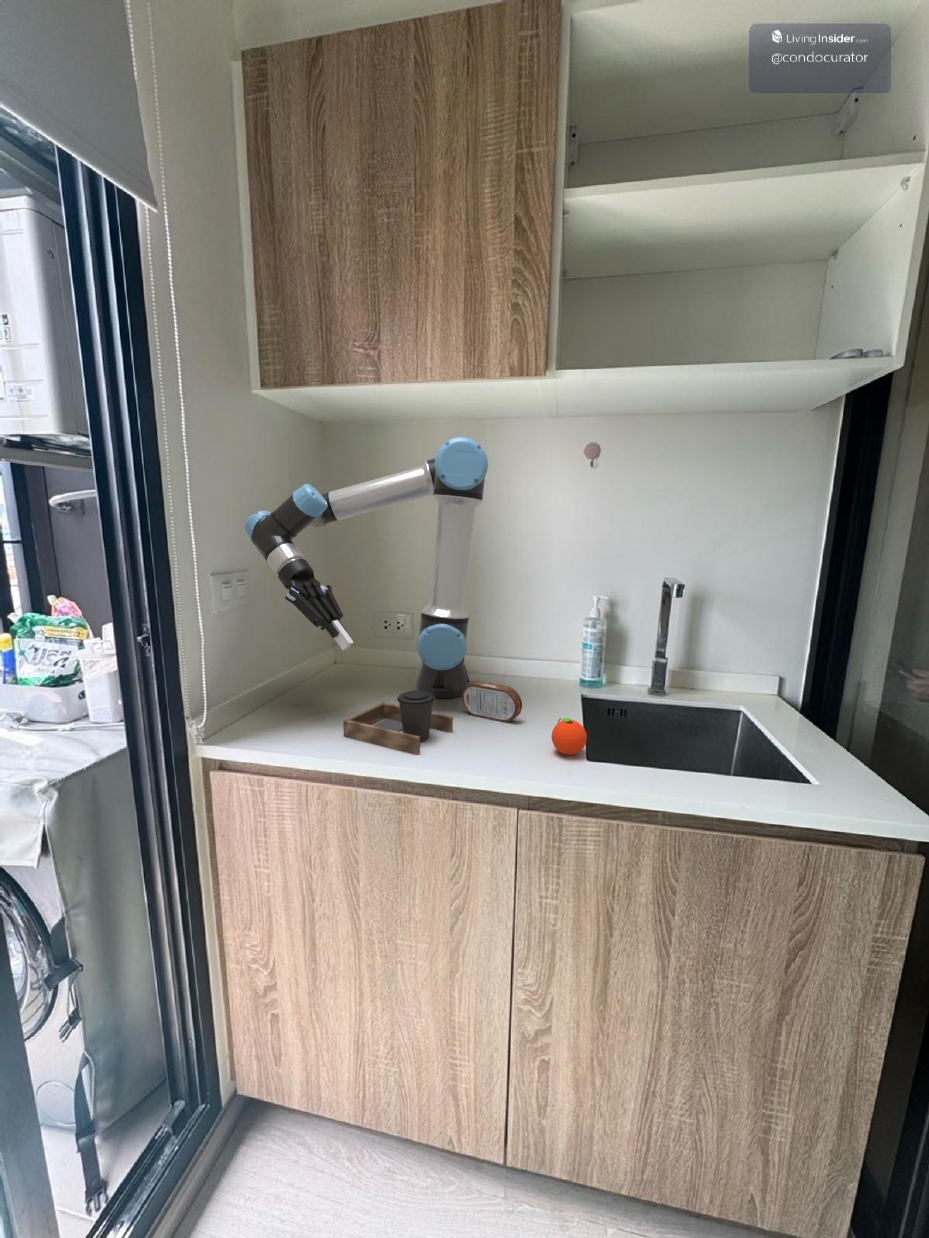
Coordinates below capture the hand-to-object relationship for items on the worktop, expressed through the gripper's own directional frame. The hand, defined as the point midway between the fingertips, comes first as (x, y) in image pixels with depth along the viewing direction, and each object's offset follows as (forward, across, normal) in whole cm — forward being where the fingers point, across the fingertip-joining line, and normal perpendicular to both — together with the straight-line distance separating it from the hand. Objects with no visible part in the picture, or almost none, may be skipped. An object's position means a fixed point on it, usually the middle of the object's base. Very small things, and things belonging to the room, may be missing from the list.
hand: (348, 646), depth 117 cm
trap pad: (+19, -1, -6) cm, 20 cm away
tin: (+32, -20, +6) cm, 37 cm away
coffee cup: (+26, -1, 0) cm, 26 cm away
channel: (+22, -1, -3) cm, 22 cm away
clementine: (+47, -10, +21) cm, 52 cm away
